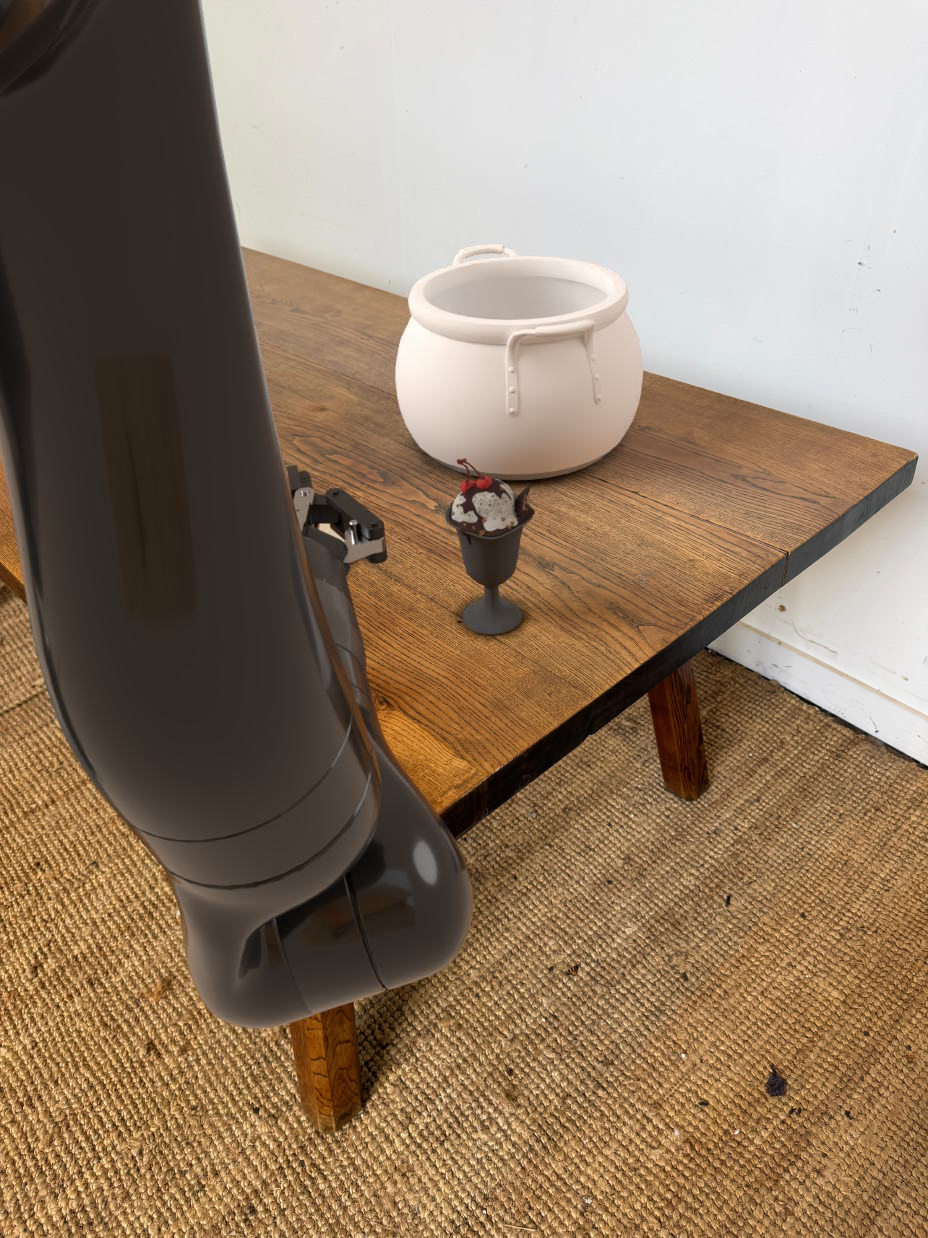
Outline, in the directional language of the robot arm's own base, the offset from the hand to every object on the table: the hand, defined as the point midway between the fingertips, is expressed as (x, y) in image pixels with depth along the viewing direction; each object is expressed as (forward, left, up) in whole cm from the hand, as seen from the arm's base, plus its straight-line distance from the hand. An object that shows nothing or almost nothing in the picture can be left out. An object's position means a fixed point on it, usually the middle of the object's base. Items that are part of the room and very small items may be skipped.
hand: (262, 483), depth 59 cm
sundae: (+16, +2, -17) cm, 23 cm away
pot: (+28, +33, -17) cm, 47 cm away
